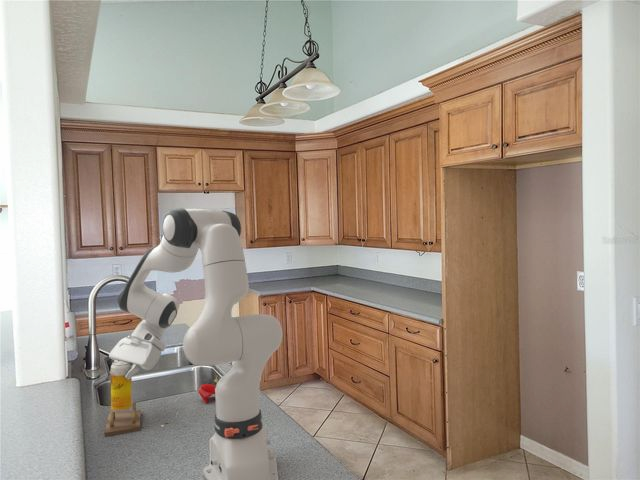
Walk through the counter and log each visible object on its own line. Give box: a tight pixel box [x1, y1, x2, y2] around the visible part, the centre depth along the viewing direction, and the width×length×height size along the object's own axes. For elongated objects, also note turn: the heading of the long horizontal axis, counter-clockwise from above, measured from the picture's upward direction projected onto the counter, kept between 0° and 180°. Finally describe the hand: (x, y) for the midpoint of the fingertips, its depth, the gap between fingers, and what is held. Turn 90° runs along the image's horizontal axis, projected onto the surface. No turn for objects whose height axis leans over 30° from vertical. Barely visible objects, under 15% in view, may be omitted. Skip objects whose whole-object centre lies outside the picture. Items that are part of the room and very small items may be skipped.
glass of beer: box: [110, 361, 133, 413], centre depth 151 cm, size 6×6×15 cm
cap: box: [197, 383, 216, 404], centre depth 169 cm, size 8×6×6 cm
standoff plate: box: [104, 402, 142, 437], centre depth 151 cm, size 14×10×5 cm
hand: (119, 376), depth 150 cm, fingers closed on glass of beer, 6 cm apart
